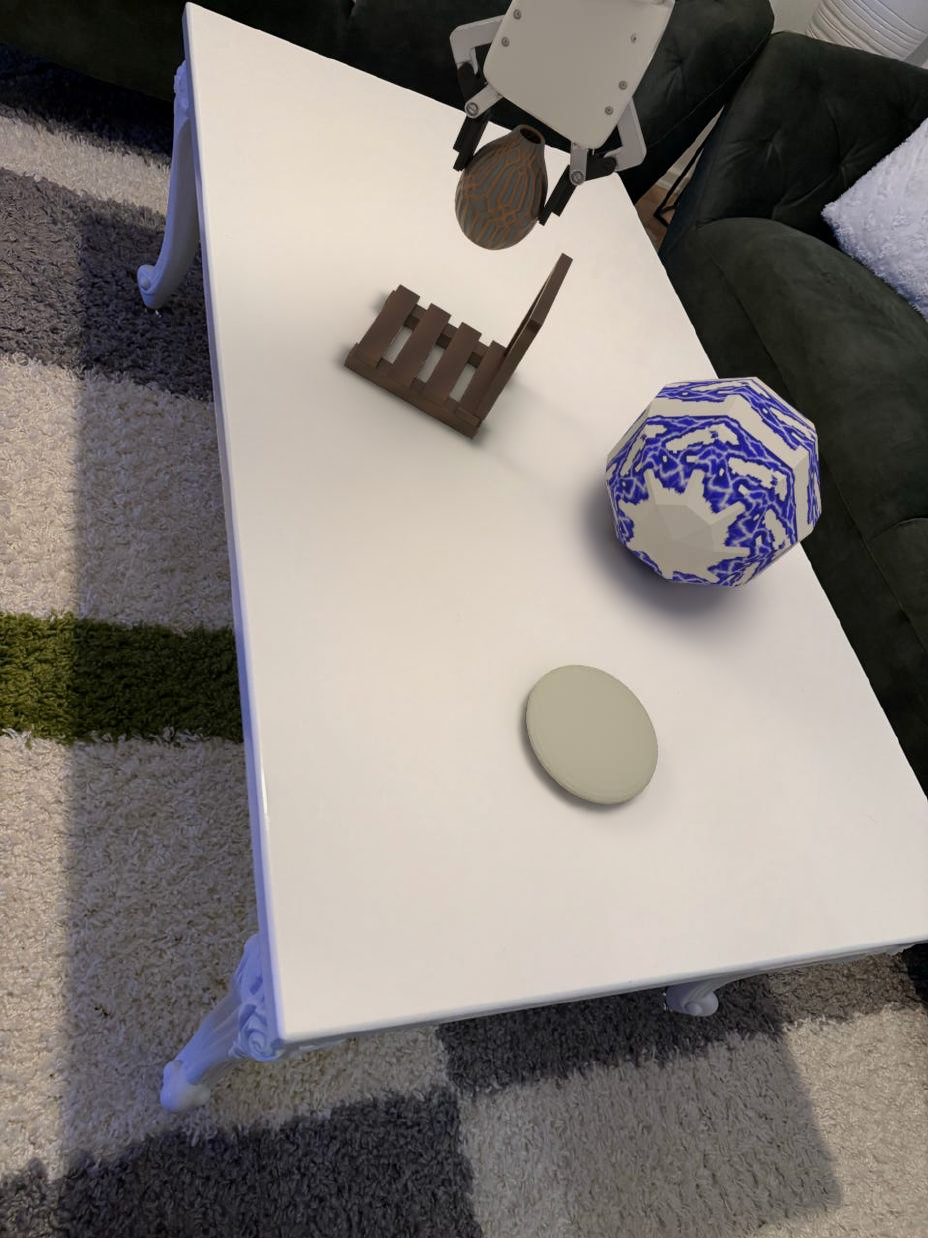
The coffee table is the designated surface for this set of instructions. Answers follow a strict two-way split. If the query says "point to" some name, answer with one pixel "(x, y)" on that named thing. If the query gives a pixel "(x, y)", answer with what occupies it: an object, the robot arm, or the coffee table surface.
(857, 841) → the coffee table surface
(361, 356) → the rack
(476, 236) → the vase
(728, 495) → the ornament
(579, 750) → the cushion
